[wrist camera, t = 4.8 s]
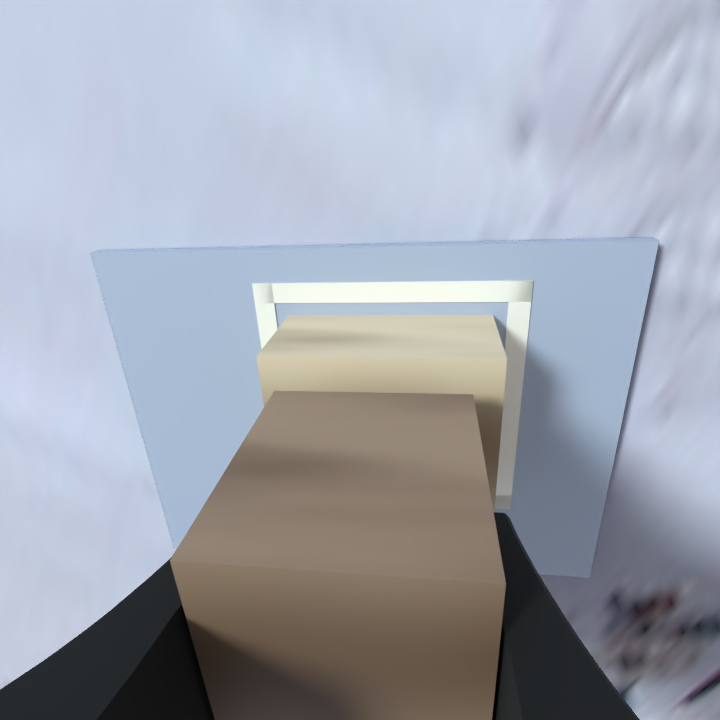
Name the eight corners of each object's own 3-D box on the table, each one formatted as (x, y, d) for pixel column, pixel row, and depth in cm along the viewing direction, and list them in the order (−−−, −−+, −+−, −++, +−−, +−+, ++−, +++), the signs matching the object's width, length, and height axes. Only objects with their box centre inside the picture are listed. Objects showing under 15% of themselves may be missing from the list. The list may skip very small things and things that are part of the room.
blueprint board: (586, 569, 18) (590, 579, 17) (178, 540, 20) (173, 548, 20) (652, 237, 13) (660, 240, 12) (98, 250, 15) (88, 253, 15)
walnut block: (465, 549, 12) (485, 782, 8) (294, 538, 13) (223, 749, 9) (473, 394, 11) (506, 584, 6) (274, 390, 11) (169, 560, 7)
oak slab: (481, 483, 16) (490, 552, 14) (307, 475, 17) (284, 539, 14) (492, 314, 14) (507, 359, 11) (288, 315, 15) (256, 356, 12)
